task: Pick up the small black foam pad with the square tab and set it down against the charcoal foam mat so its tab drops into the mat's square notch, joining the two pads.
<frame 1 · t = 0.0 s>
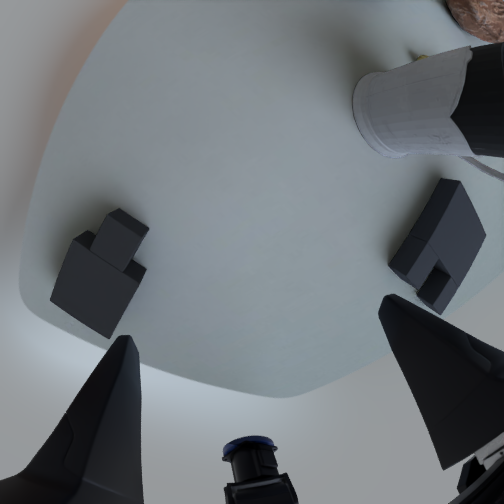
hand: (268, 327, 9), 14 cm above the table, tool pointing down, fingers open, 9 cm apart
charcoal mat: (436, 245, 26), on the table
decorative rock: (460, 16, 18), on the table
glass holder: (406, 131, 22), on the table
black pad: (101, 278, 20), on the table
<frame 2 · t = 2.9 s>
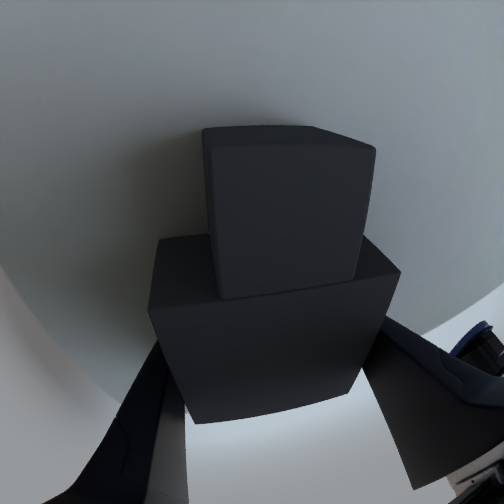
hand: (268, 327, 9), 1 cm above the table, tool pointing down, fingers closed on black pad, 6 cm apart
black pad: (259, 303, 10), on the table, touching gripper
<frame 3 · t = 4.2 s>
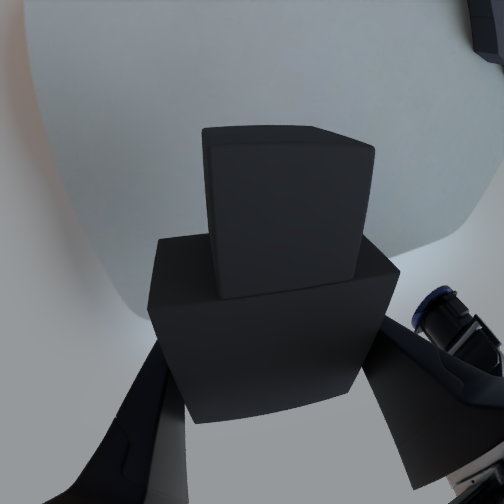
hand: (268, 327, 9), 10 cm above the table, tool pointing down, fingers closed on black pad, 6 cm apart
charcoal mat: (492, 22, 10), on the table
black pad: (258, 303, 10), point 8 cm above the table, touching gripper
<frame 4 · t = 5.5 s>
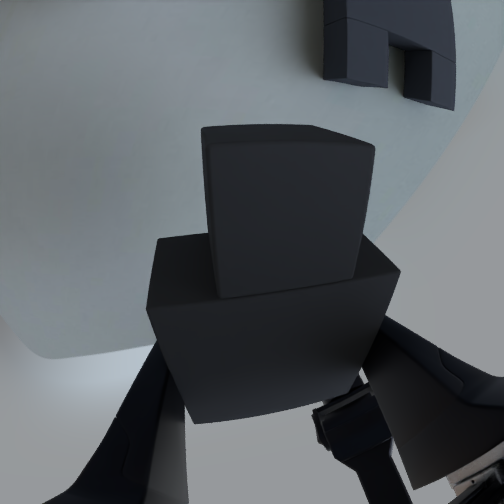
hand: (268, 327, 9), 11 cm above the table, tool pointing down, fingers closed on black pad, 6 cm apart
charcoal mat: (384, 21, 12), on the table
black pad: (258, 302, 10), point 10 cm above the table, touching gripper
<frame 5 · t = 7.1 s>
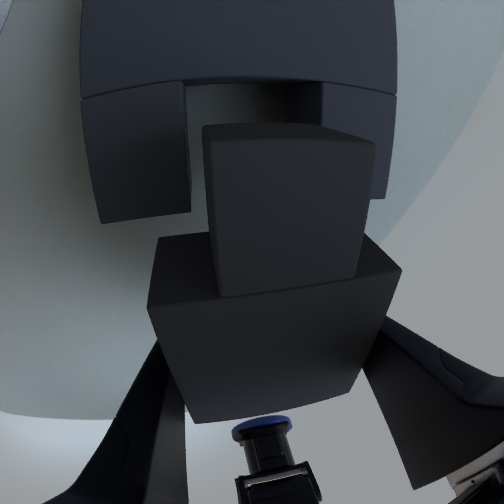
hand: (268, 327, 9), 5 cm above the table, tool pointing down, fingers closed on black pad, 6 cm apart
charcoal mat: (238, 36, 8), on the table
black pad: (259, 302, 10), point 4 cm above the table, touching gripper
when the fingers open (1 cm above the table, at t = 8.6 s): black pad stays where it is, on the table.
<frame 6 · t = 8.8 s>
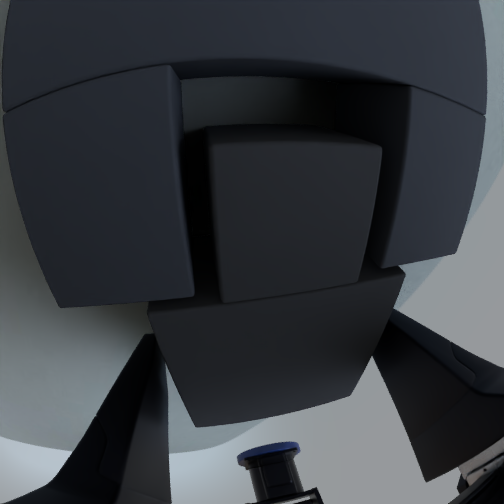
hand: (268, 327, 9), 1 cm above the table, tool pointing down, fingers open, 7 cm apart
charcoal mat: (262, 9, 5), on the table
black pad: (260, 305, 10), on the table
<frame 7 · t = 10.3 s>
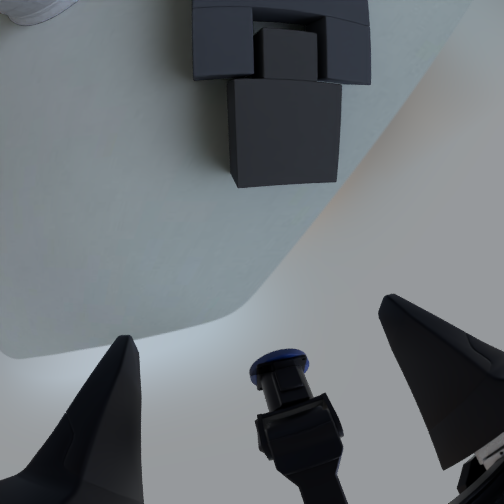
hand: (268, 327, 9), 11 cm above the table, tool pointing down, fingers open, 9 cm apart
black pad: (275, 126, 16), on the table
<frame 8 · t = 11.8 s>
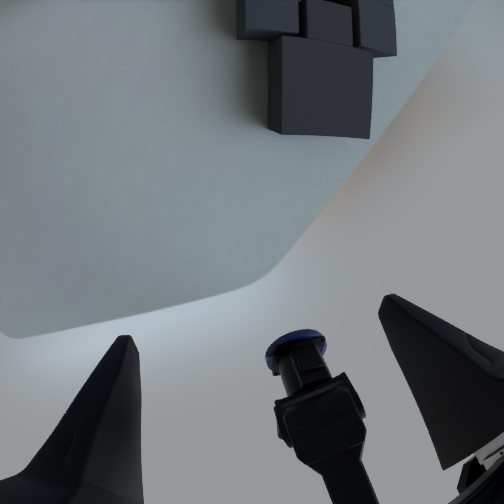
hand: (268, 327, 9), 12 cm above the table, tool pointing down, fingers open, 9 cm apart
black pad: (310, 88, 16), on the table
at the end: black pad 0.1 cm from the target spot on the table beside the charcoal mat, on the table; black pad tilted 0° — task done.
